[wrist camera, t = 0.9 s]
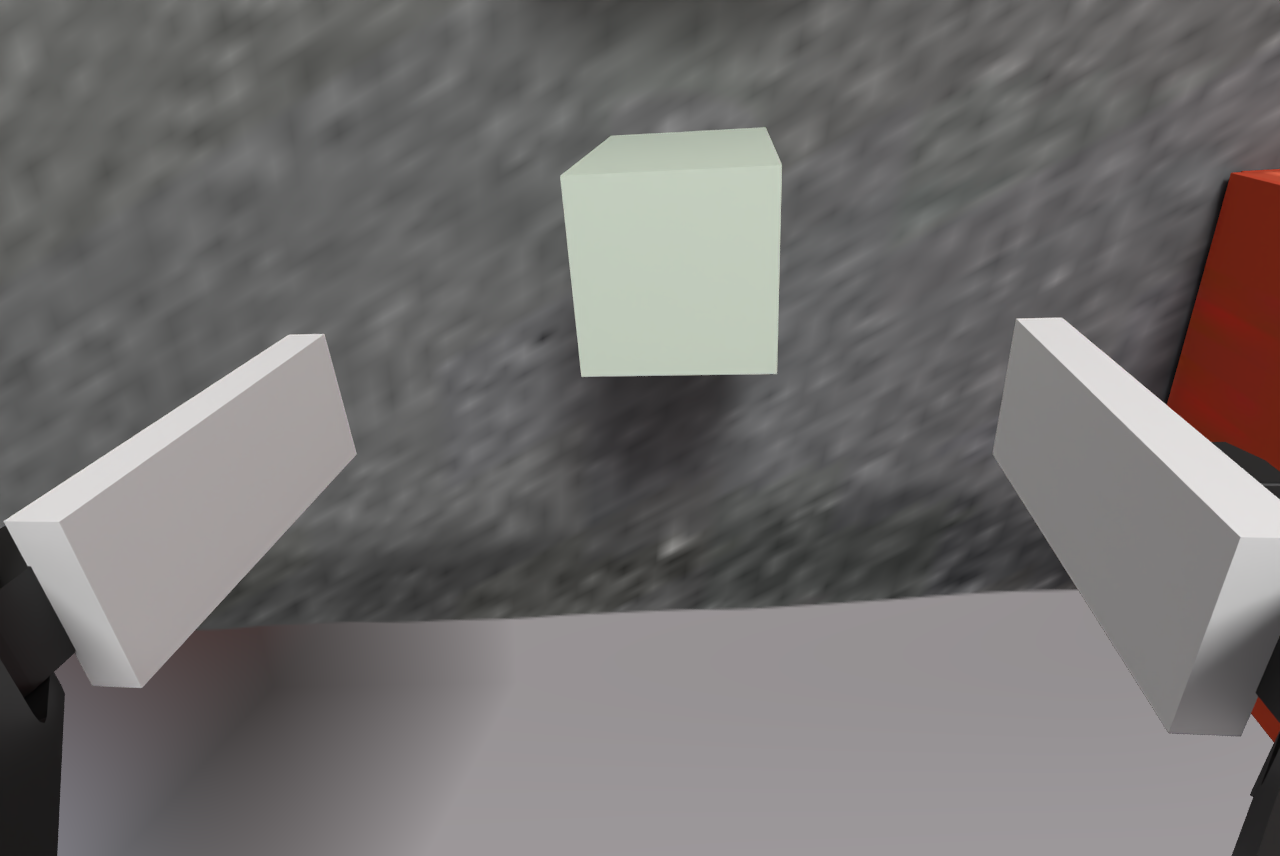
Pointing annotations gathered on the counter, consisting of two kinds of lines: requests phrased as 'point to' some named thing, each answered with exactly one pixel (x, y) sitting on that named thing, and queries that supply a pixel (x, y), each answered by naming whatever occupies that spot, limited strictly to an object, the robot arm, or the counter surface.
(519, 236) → the counter surface
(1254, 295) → the file binder
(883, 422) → the counter surface
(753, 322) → the sage pillar
